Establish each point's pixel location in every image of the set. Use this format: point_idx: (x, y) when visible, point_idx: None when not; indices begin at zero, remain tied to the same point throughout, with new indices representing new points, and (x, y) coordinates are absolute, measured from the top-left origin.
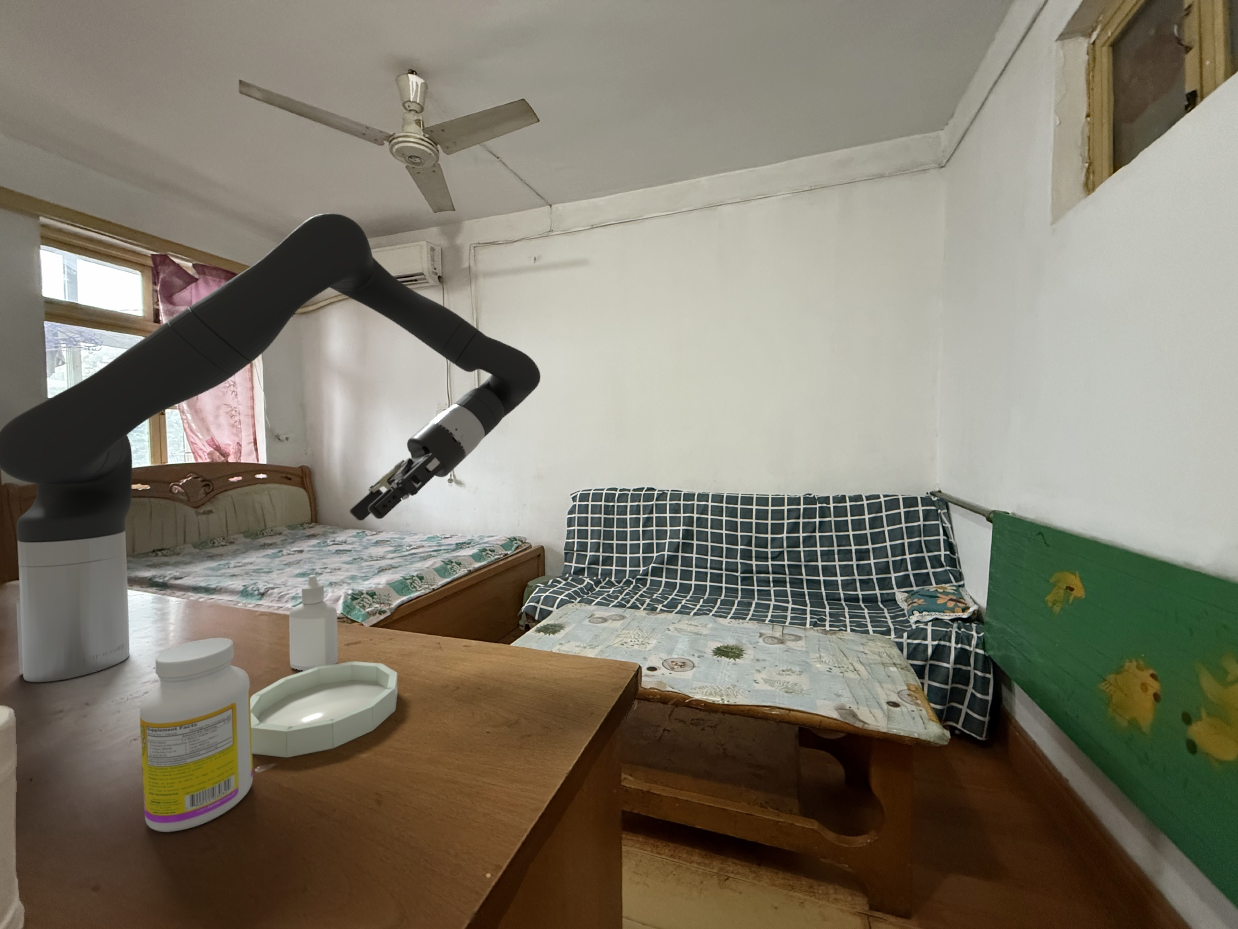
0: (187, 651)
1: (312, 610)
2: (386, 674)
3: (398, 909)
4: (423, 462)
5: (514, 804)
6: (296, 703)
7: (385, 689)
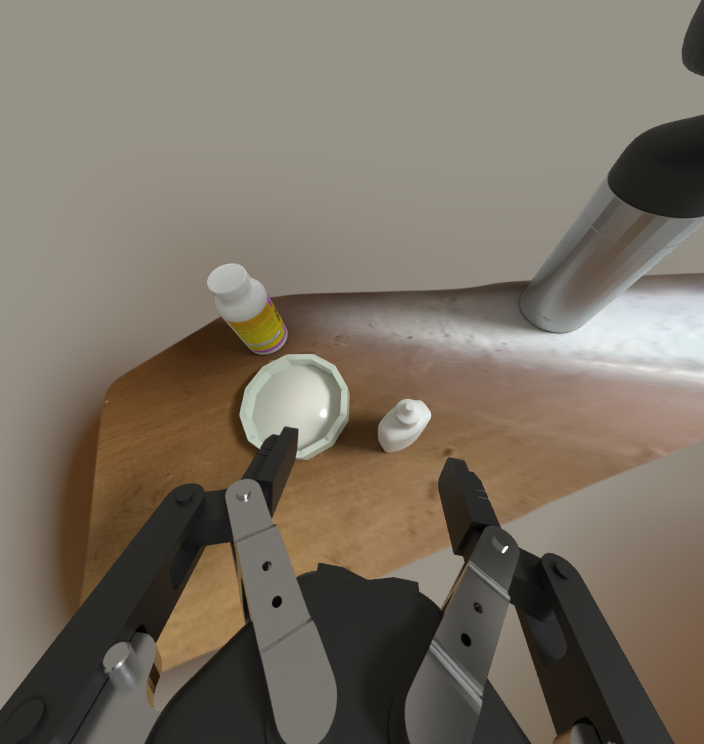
0: (227, 274)
1: (389, 412)
2: None
3: (134, 371)
4: (68, 626)
5: (114, 437)
6: (324, 394)
7: None
